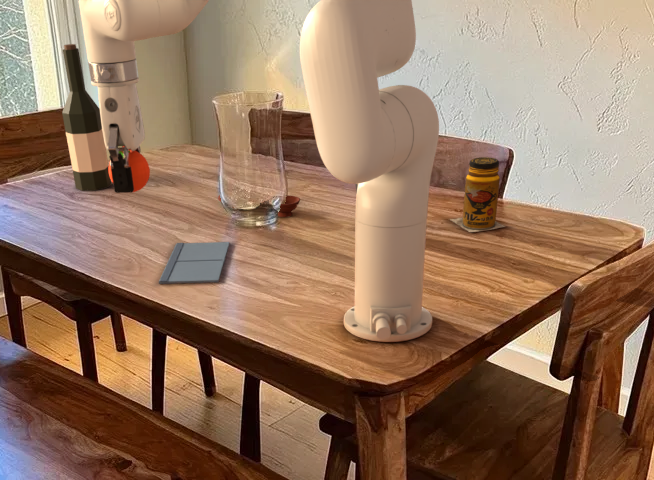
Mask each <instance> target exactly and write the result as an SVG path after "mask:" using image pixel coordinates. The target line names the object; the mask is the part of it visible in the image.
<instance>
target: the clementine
mask: <svg viewBox="0 0 654 480" xmlns="http://www.w3.org/2000/svg"><path fill="white" fill-rule="evenodd" d="M121 155H122V156H123V159H124V153H123V154H121ZM108 165H109V176H110V179H111V184H113V178H112V172H111V166H110V162H108ZM129 167H131V171H132V178H133V185H134V191H133V192H132V193H137V192H139V191H141V190H142V189H143V188H144V187H146V185H147V184H148V182H149V179H150V175H151V169H150V166H149V162H148V160H147V159H146V158H145V156H144V155H143V154H142V153H141V152H140V153H139V152H137V151H132V150H129Z"/></svg>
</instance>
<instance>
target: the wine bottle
mask: <svg viewBox="0 0 654 480" xmlns="http://www.w3.org/2000/svg"><path fill="white" fill-rule="evenodd" d="M62 54H63V60H64V66H65V71H66V77H67V83H68V89H69V93H68V95H67V98H66V100H65V104H64V107H63V109H62V112H61V114H62V119H63V125H64V130H65V136H66V141H67V146H68V147H67V148H68V151H69V158H70V164H71V169H72V175H73V180H74V185H75V189H76V190H80V191H81V192H85V191H86V192H88V191H99V190H104V189H108V188H109V187H110V186H111V185H112V181H111V179H110V176H109V160H108V158H109V157H108V152H107V149H106V146H105V142H104V137H103V131H102V124H101V116H100V107H99V106H98V104H97V103H96V102H95V101H94V99H93V98H92V97H91V95H90V94H89V92H88V91H87V89H86V86H85V85H86V84H85V79H84V73H83V67H82V61H81V55H80V49H79V48H78V47H77V44H76V43H68V44H64V45H63V49H62Z"/></svg>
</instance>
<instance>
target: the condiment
mask: <svg viewBox="0 0 654 480" xmlns="http://www.w3.org/2000/svg"><path fill="white" fill-rule="evenodd" d="M467 171H468V174H467V175H466V177H465V186H464V195H463V198H464V199H463V201H462V202H463V208H462V217H457V218H449V221H450V222H452V223H454V224H456V225H457V226H458V227H461V228H462V229H463V230H465V231H467V232H469V233H476V232H477V233H478V232H483V231H490V230H497V229H499V228H500V229H501V228H506V225H503V224H501V223H500V222H497V221H496V220H497V213H498V201H499V191H500V180H501V177H500V174H499V171H500V161H499V160H498V159H497V158H495V157H487V156H480V157H474V158H472V159H470V160H469V168H468V170H467Z"/></svg>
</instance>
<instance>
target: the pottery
mask: <svg viewBox="0 0 654 480" xmlns="http://www.w3.org/2000/svg"><path fill="white" fill-rule="evenodd" d="M217 200H218V201H219V202H220V203H222V202H221V198H220V194H219V195H218V196H217ZM300 202H301V198H300V197H299V196H296V195H289V194H288V195H287V197H286V202H285V204H281V206H280V208H281V209H280V211H279V212H277V217H280V218H290V217H292V216H293V212H294V210H296V208H297V207H298V205H299V204H300Z"/></svg>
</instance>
